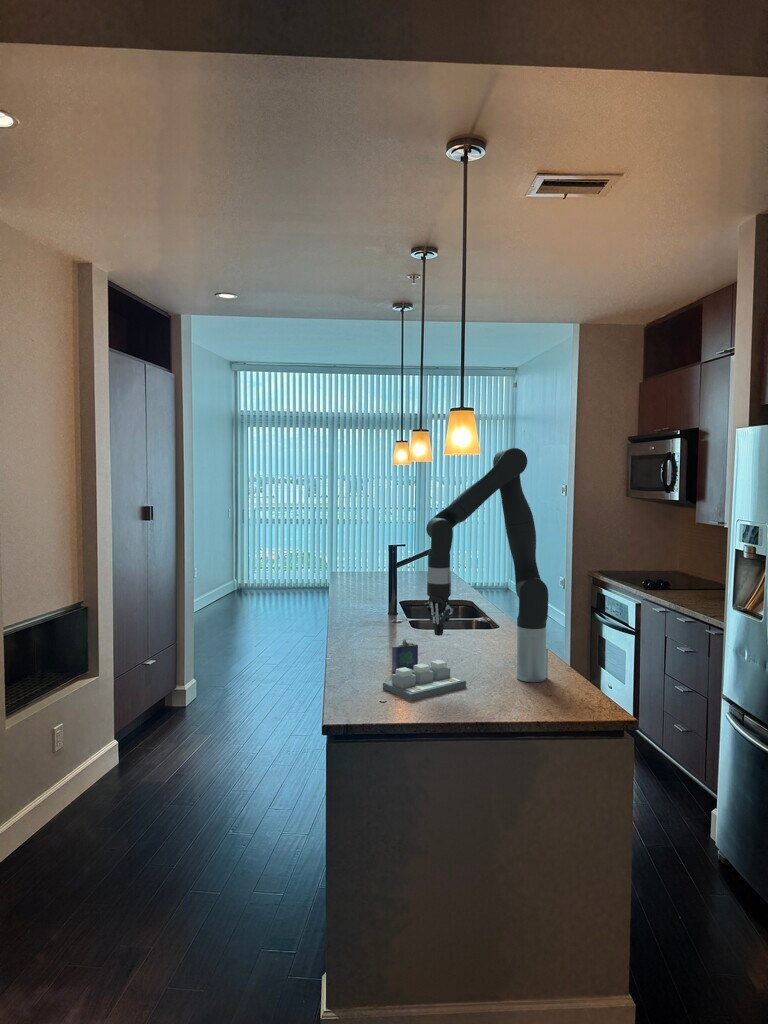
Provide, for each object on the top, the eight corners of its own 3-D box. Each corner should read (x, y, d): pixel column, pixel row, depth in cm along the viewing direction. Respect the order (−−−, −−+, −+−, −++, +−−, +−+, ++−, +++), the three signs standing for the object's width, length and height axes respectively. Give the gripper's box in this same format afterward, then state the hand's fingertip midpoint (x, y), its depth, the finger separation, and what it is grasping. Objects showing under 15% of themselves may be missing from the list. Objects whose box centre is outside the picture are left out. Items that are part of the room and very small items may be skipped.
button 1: (404, 676, 209) (404, 667, 208) (412, 679, 206) (412, 669, 205) (395, 678, 206) (395, 669, 206) (402, 681, 203) (402, 671, 203)
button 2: (439, 668, 217) (439, 659, 216) (446, 671, 214) (446, 662, 214) (430, 670, 215) (430, 661, 214) (438, 673, 212) (438, 664, 211)
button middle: (422, 672, 213) (422, 663, 212) (429, 675, 210) (429, 665, 209) (413, 674, 210) (413, 665, 210) (420, 677, 208) (420, 667, 207)
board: (437, 676, 221) (437, 661, 221) (466, 687, 210) (466, 671, 210) (382, 688, 208) (382, 672, 208) (410, 701, 197) (410, 684, 197)
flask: (393, 673, 224) (393, 641, 224) (390, 671, 227) (390, 639, 227) (419, 671, 227) (419, 639, 227) (415, 668, 230) (415, 637, 230)
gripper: (461, 582, 209) (461, 637, 210) (434, 577, 220) (434, 629, 221) (443, 585, 205) (443, 641, 206) (416, 579, 216) (416, 632, 217)
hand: (438, 635), depth 214 cm, fingers closed
